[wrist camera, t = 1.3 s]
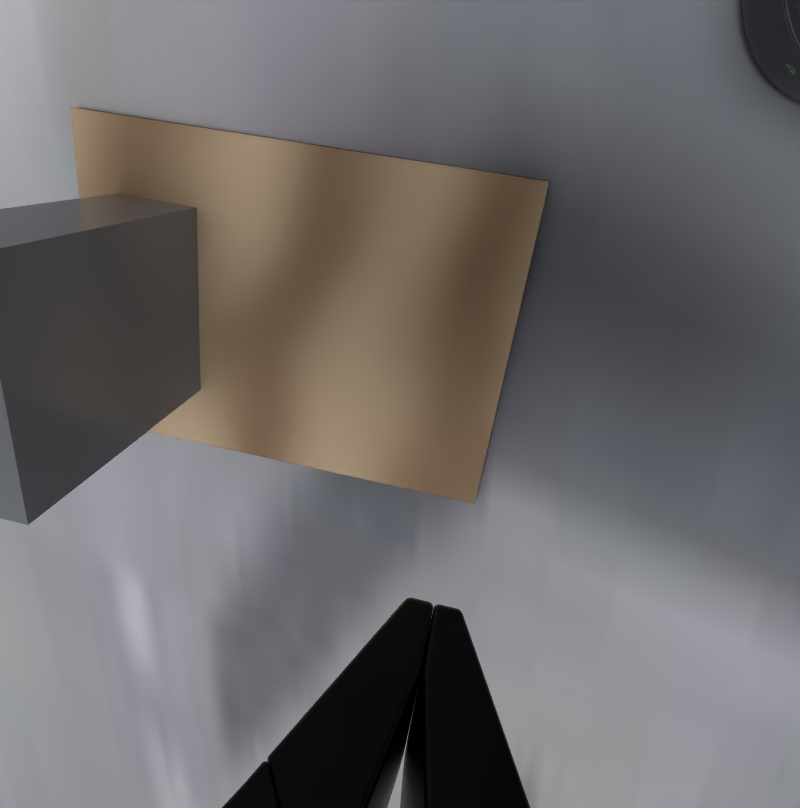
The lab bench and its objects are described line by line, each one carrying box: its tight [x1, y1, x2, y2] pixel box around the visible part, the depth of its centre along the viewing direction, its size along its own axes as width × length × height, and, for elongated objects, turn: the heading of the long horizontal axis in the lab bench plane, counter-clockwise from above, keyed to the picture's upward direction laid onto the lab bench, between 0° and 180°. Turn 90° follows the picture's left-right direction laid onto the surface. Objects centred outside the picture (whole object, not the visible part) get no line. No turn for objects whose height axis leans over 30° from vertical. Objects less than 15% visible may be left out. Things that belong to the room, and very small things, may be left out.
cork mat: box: [70, 107, 549, 504], centre depth 21 cm, size 16×12×1 cm
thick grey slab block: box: [0, 194, 201, 525], centre depth 18 cm, size 3×7×9 cm, turn 173°
